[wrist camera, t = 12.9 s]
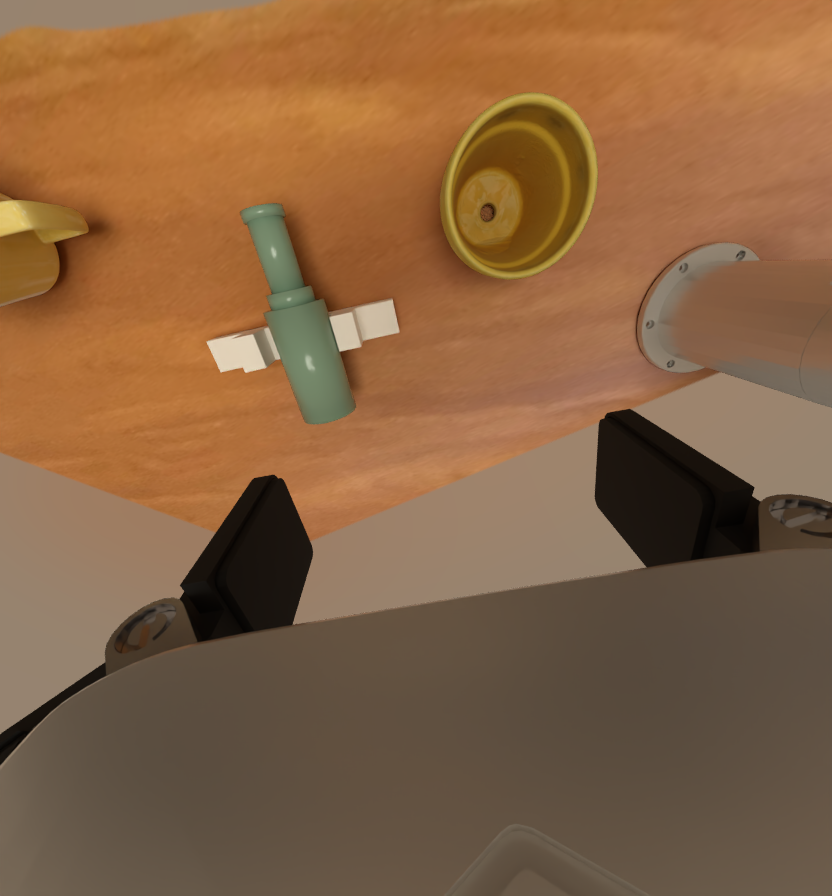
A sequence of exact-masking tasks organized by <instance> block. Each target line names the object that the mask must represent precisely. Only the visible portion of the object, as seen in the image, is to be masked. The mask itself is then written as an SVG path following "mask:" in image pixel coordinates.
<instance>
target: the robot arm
mask: <svg viewBox="0 0 832 896" xmlns="http://www.w3.org/2000/svg"><path fill="white" fill-rule="evenodd" d="M637 337H638V342H639V346H640V349H641V351H642V353H643V354H644V356H645V357H646V358H647V359H648V361H649V362H650V363H652V364H653V365H655V366H657V367H658V368H661V369H663V370H666V371H669V372H675V373H688V372H693V371H698V370H701V369H703V368H706V367H707V368H710V369H713V370H716V371H719V372H722V373H725V374H729V375H731V376H735V377H738V378H741V379H744V380H747V381H750V382H753V383H756V384H759V385H763V386H765V387H769V388H772V389H775V390H778V391H781V392H784V393H787V394H790V395H793V396H796V397H800V398H803V399H806V400H809V401H812V402H815V403H818V404H821V405H825V406H828V407H831V408H832V260H760V259H759V258H758V256H757V255H756V254H755V253H754V252H753V251H752V250H750V249H749V248H748V247H745V246H743V245H740V244H737V243H728V242H725V243H713V244H708V245H704V246H700V247H698V248H696V249H693V250H691V251H689V252H687V253H686V254H684V255H682V256H681V257H679V258H678V259H676V260H675V261H674V262H673V263H672V264H670V265H669V266H668V267H667V268H666V269H665V270H664V271H663V272H662V273H661V275H660V276H659V277H658V278H657V279H656V280H655V282H654V283H653V285H652V286H651V288H650V289H649V291H648V293H647V295H646V297H645V299H644V301H643V303H642V306H641V310H640V313H639V316H638V324H637ZM753 490H754V487H753V486H752V485H750V484H749V483H747V482H745V481H744V480H742V479H741V478H739V477H737V476H736V475H734V474H733V473H731V472H729V471H728V470H726V469H725V468H723V467H722V466H720V465H718V464H717V463H715V462H714V461H712V460H710V459H709V458H707V457H706V456H704V455H703V454H701V453H699V452H698V451H696V450H695V449H693V448H692V447H690V446H688V445H687V444H685V443H684V442H682V441H680V440H679V439H677V438H675V437H674V436H672V435H671V434H669V433H668V432H666V431H665V430H663V429H661V428H659V427H658V426H657V425H655V424H653V423H652V422H650V421H649V420H647V419H645V418H644V417H642V416H641V415H639V414H638V413H636V412H634V411H633V410H631V409H626V410H621V411H616V412H610V413H607V414H606V416H605V418H604V419H601V420H600V422H599V432H598V449H597V466H596V484H595V501H596V504H597V506H598V508H599V509H600V510H601V512H602V513H603V514H604V515H605V517H606V518H607V519H608V520H609V521H610V523H611V524H612V525H613V526H614V528H615V529H616V530H617V531H618V533H619V534H620V535H621V536H622V537H623V539H624V540H625V541H626V542H627V544H628V545H629V546H630V547H631V549H632V550H633V551H634V552H635V554H637V556H638V557H639V559H640V560H641V561H642V562H643V563H644V565H645V566H646V567H647V568H640V569H634V570H628V571H621V572H615V573H608V574H602V575H596V576H589V577H584V578H577V579H570V580H564V581H557V582H551V583H544V584H538V585H531V586H525V587H519V588H513V589H507V590H501V591H494V592H488V593H482V594H476V595H470V596H464V597H457V598H451V599H445V600H439V601H433V602H427V603H420V604H414V605H409V606H402V607H397V608H390V609H385V610H378V611H372V612H366V613H360V614H354V615H348V616H343V617H337V618H331V619H325V620H319V621H313V622H307V623H301V624H295V625H292V624H293V621H294V617H295V614H296V611H297V607H298V604H299V601H300V597H301V593H302V590H303V587H304V584H305V581H306V577H307V574H308V571H309V567H310V564H311V560H312V557H313V549H312V545H311V542H310V540H309V538H308V535H307V533H306V531H305V528H304V526H303V524H302V521H301V519H300V517H299V514H298V512H297V510H296V507H295V505H294V503H293V500H292V498H291V496H290V493H289V491H288V489H287V486H286V484H285V482H284V480H283V479H282V478H279V479H278V478H277V477H276V476H275V475H269V476H263V477H258V478H254V479H253V480H252V481H251V482H250V484H249V485H248V487H247V488H246V490H245V491H244V493H243V494H242V496H241V497H240V498H239V500H238V501H237V503H236V504H235V506H234V507H233V509H232V510H231V512H230V513H229V515H228V516H227V517H226V519H225V520H224V522H223V523H222V525H221V526H220V528H219V529H218V531H217V532H216V534H215V535H214V536H213V538H212V539H211V541H210V542H209V544H208V545H207V547H206V548H205V550H204V551H203V553H202V554H201V555H200V557H199V559H198V560H197V561H196V563H195V564H194V566H193V567H192V569H191V570H190V571H189V573H188V575H187V576H186V577H185V579H184V580H183V582H182V583H181V585H180V586H181V587H182V589H183V590H184V593H183V595H182V596H181V598H180V599H177V598H164V599H161V600H158V601H155V602H152V603H150V604H148V605H146V606H144V607H142V608H141V609H139V610H138V611H137V612H135V613H134V614H132V615H131V616H129V617H128V618H127V619H126V620H125V621H124V622H123V623H122V624H121V625H120V626H119V627H118V628H117V629H116V630H115V631H114V633H113V634H112V635H111V637H110V639H109V641H108V642H107V645H106V649H105V663H104V664H102V665H101V666H99V667H98V668H96V669H95V670H93V671H92V672H90V673H89V674H87V675H86V676H84V677H83V678H82V679H80V680H79V681H77V682H76V683H74V684H73V685H71V686H70V687H68V688H67V689H65V690H64V691H62V692H61V693H60V694H58V695H57V696H55V697H54V698H52V699H51V700H49V701H48V702H46V703H45V704H43V705H42V706H41V707H39V708H38V709H36V710H35V711H33V712H32V713H31V714H29V715H27V716H26V717H25V718H23V719H22V720H20V721H19V722H17V723H16V724H14V725H13V726H11V727H10V728H9V729H7V730H6V731H4V732H3V733H2V734H0V896H832V503H831V502H828V501H825V500H823V499H818V498H814V497H809V496H802V495H793V494H782V495H774V496H770V497H766V498H765V499H763V500H762V501H761V502H760V501H759V500H757V499H756V498H754V497H753V496H752V494H753Z"/></svg>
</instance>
